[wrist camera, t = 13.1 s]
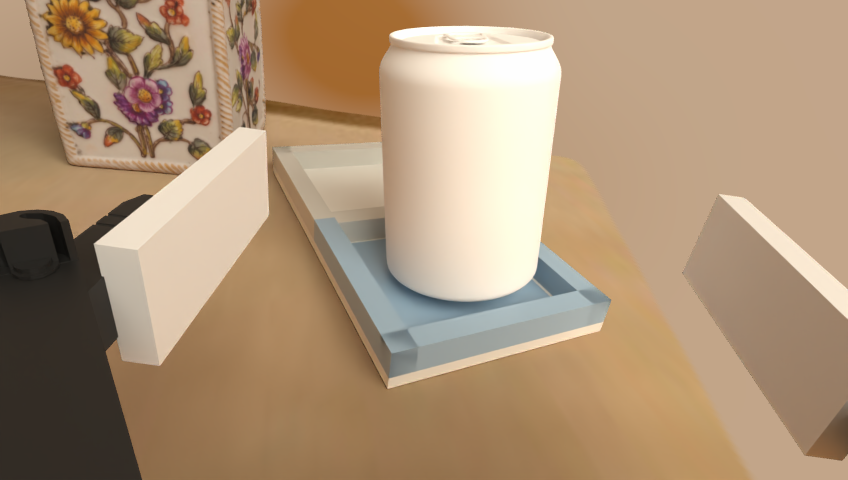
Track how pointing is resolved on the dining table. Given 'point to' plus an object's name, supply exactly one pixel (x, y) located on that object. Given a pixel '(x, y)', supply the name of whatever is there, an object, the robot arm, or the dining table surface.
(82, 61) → the decorative jar
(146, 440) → the dining table surface
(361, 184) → the divided tray
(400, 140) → the beverage can
